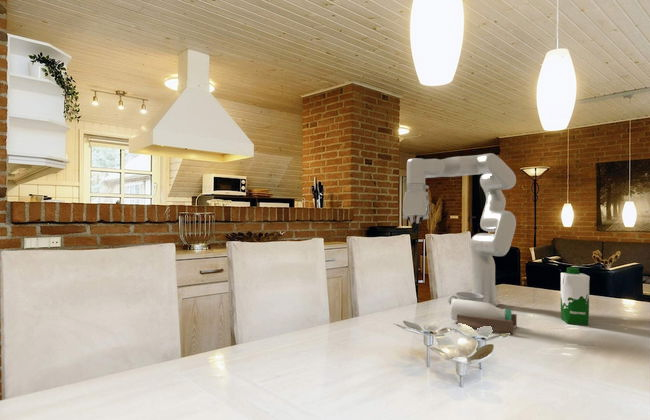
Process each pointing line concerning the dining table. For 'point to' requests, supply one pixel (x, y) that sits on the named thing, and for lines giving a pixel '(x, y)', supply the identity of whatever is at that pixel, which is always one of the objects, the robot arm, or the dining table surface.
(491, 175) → the robot arm
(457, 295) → the teacup
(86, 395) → the dining table surface
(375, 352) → the dining table surface
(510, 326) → the cradle
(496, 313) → the milk bottle
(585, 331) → the dining table surface
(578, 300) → the milk carton
